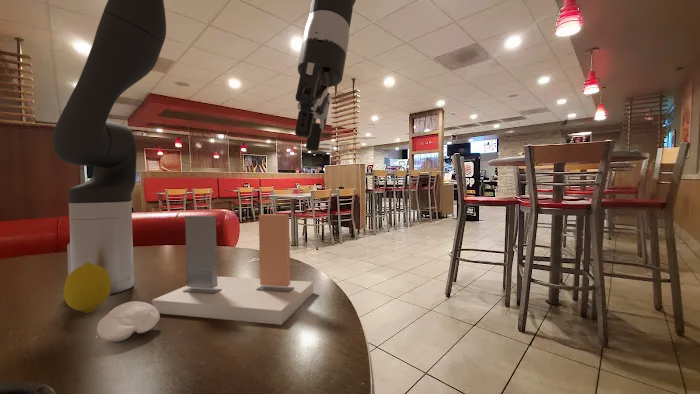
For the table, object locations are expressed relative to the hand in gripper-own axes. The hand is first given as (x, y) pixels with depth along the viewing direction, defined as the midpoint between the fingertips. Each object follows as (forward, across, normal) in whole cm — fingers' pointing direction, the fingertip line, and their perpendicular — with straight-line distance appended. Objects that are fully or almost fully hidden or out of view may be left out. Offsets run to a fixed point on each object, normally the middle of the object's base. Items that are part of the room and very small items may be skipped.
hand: (307, 144), depth 47 cm
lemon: (+32, +1, -29) cm, 44 cm away
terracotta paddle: (+25, -4, -2) cm, 25 cm away
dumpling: (+31, +8, -17) cm, 36 cm away
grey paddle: (+27, -3, -14) cm, 31 cm away
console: (+28, -4, -8) cm, 29 cm away
